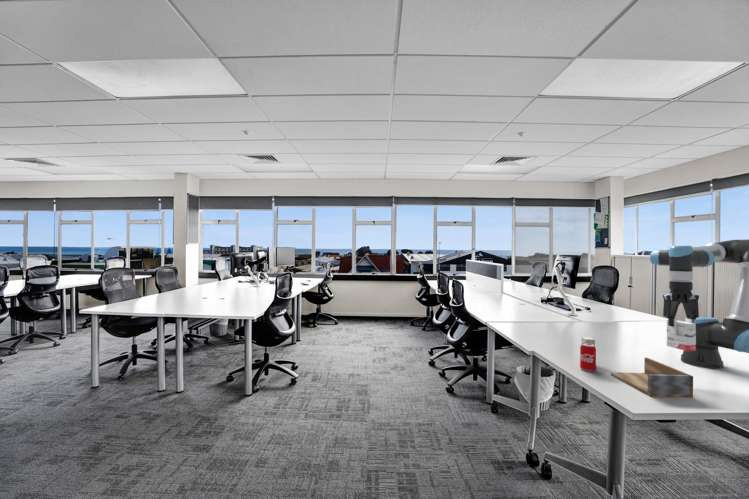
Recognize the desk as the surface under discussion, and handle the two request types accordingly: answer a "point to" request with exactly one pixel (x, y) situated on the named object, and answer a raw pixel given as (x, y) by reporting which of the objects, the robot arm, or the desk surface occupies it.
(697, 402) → the desk surface
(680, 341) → the ink box
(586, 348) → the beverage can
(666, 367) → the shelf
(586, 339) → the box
